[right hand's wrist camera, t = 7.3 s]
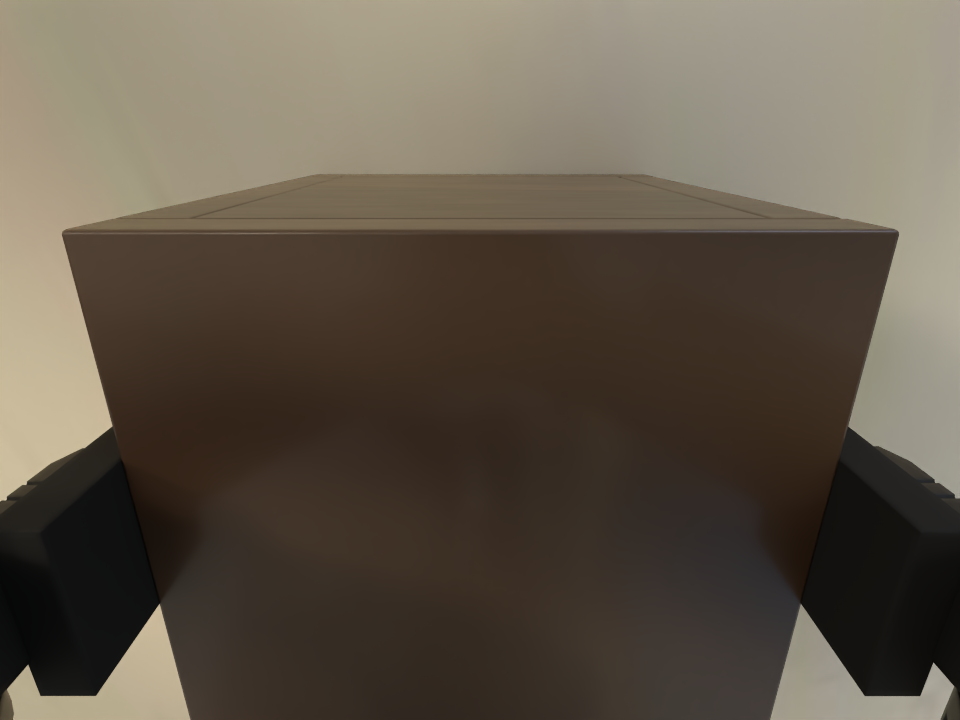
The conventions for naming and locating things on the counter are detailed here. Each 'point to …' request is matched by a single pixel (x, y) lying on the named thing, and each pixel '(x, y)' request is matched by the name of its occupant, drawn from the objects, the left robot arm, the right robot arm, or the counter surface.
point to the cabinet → (480, 438)
